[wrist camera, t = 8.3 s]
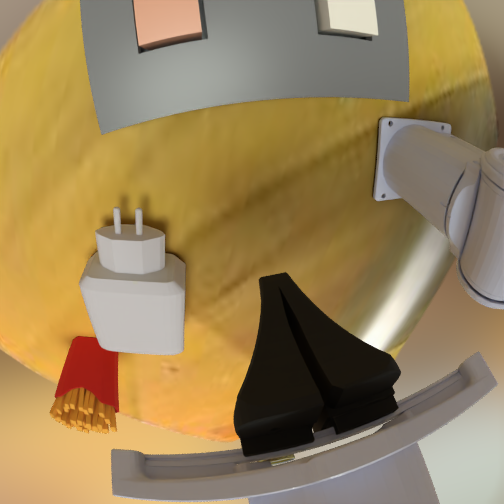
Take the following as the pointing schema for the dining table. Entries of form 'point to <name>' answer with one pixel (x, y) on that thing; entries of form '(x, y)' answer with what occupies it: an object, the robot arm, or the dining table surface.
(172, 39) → the terracotta key
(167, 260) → the charger
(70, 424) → the french fries
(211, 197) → the dining table surface
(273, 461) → the ceramic cup
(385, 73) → the key box
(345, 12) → the offwhite key
